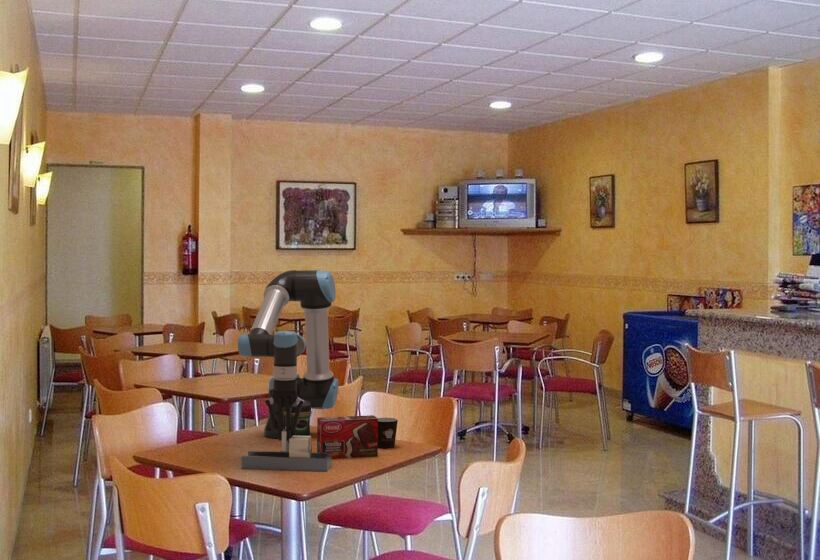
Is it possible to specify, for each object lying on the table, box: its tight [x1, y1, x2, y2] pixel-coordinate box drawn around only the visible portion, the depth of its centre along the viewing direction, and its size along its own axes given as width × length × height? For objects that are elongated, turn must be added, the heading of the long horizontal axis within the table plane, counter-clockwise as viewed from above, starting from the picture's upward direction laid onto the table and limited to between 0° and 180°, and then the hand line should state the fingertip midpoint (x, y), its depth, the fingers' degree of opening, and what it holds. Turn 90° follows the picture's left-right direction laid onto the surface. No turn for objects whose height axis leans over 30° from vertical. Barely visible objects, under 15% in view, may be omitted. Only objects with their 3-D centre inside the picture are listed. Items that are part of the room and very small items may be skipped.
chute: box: [241, 450, 333, 472], centre depth 299 cm, size 9×28×4 cm, turn 85°
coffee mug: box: [377, 417, 399, 450], centre depth 333 cm, size 12×9×10 cm
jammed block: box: [289, 435, 312, 458], centre depth 299 cm, size 6×6×8 cm
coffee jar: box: [283, 400, 313, 453], centre depth 320 cm, size 10×8×19 cm
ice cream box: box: [316, 414, 379, 460], centre depth 317 cm, size 20×6×13 cm, turn 107°
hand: (284, 450), depth 299 cm, fingers closed
